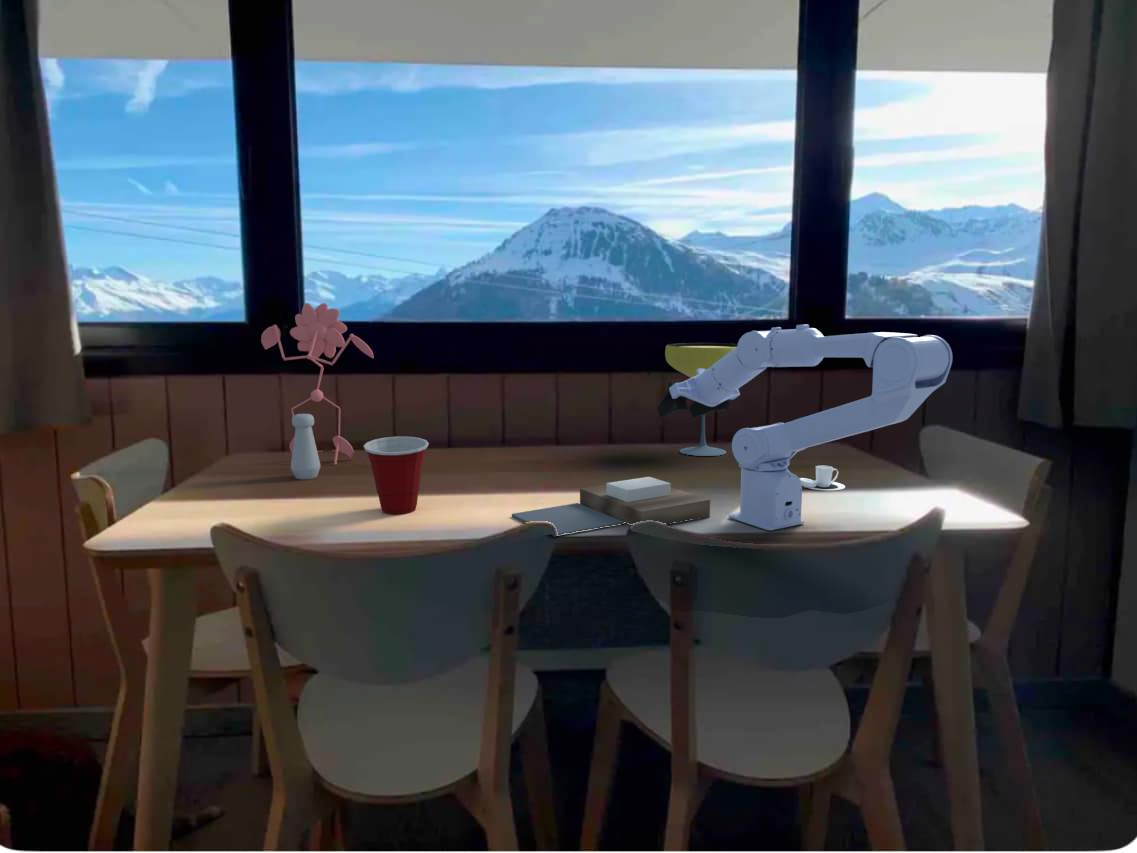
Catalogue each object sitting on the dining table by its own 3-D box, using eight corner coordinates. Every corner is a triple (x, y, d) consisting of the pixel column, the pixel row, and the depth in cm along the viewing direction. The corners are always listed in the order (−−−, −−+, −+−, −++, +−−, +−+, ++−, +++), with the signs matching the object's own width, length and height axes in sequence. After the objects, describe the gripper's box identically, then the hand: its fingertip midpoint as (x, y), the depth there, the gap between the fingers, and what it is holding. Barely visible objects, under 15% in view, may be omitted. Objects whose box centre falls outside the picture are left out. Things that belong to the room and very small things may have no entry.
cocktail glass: (648, 453, 187) (649, 345, 183) (690, 442, 201) (692, 342, 197) (716, 463, 175) (719, 348, 171) (756, 451, 189) (760, 344, 185)
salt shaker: (286, 477, 164) (282, 414, 162) (311, 473, 168) (308, 411, 166) (300, 481, 160) (296, 417, 158) (326, 477, 164) (323, 414, 162)
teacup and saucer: (795, 490, 153) (796, 469, 152) (799, 481, 160) (799, 461, 159) (844, 494, 150) (845, 472, 149) (845, 484, 157) (846, 464, 156)
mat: (624, 524, 129) (624, 521, 129) (554, 537, 122) (554, 534, 122) (577, 505, 141) (577, 503, 141) (511, 516, 134) (511, 513, 134)
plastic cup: (364, 520, 132) (360, 449, 130) (368, 504, 143) (365, 437, 141) (430, 517, 134) (428, 446, 132) (430, 501, 144) (428, 435, 143)
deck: (709, 517, 133) (710, 499, 133) (641, 530, 126) (642, 511, 125) (644, 494, 148) (644, 478, 148) (580, 505, 141) (579, 488, 141)
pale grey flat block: (648, 487, 141) (648, 476, 141) (670, 494, 136) (670, 483, 136) (606, 494, 136) (606, 483, 136) (627, 502, 131) (627, 490, 131)
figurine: (371, 466, 174) (364, 303, 169) (257, 464, 177) (246, 303, 171) (393, 452, 189) (387, 302, 184) (288, 451, 192) (278, 303, 186)
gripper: (748, 357, 140) (698, 393, 150) (686, 353, 132) (638, 392, 142) (761, 393, 137) (710, 427, 147) (699, 392, 129) (650, 428, 139)
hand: (676, 412), depth 144 cm, fingers open, 7 cm apart
